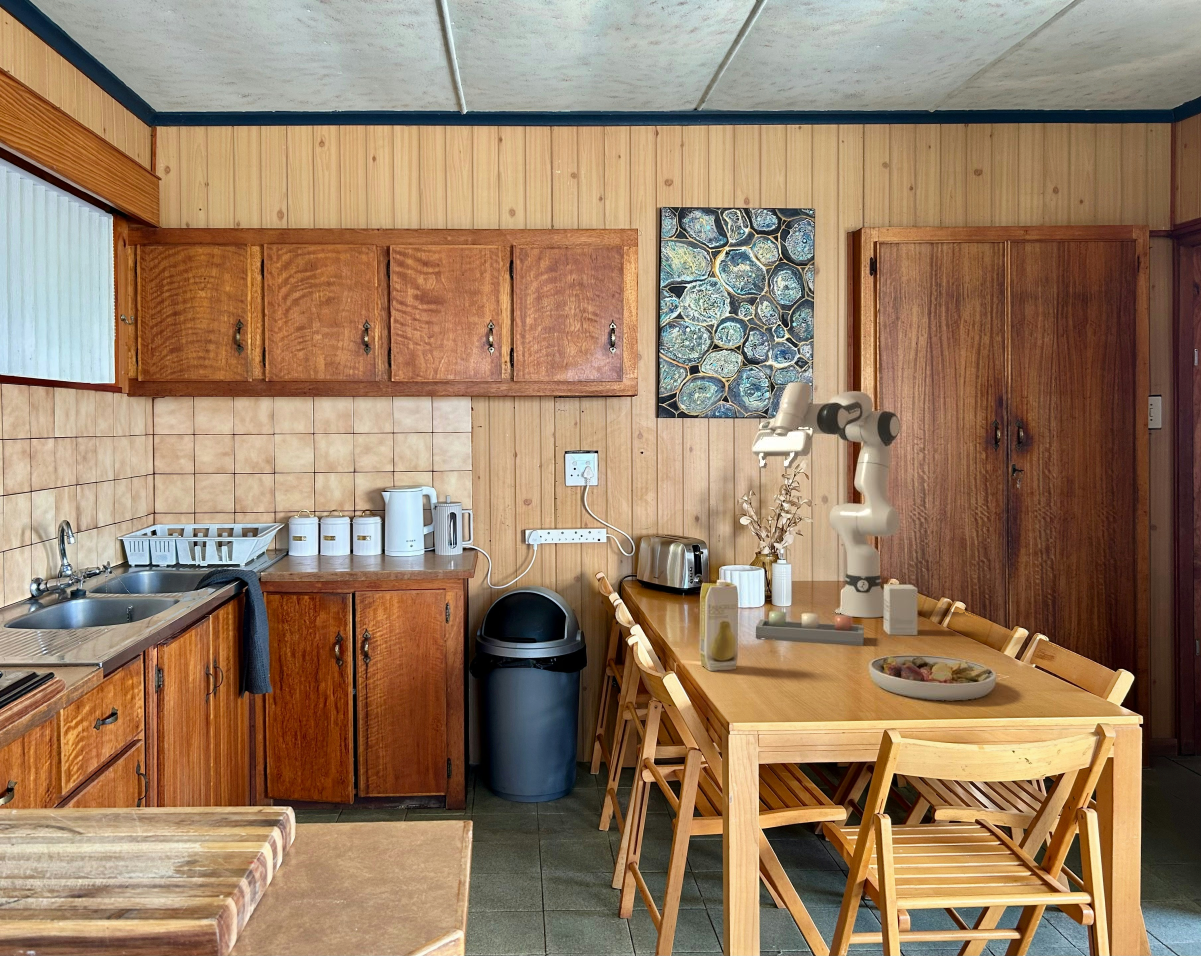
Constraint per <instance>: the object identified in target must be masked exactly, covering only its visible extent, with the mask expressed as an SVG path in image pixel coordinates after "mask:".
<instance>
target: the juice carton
mask: <svg viewBox="0 0 1201 956" xmlns="http://www.w3.org/2000/svg"><path fill="white" fill-rule="evenodd" d="M699 596H700V597H699V598H700V599H699V660H700V665H701V667H703V666H704V667H705V668H704V667H703V668H704V669H706V670H707V671H709V672H716V671H717V672H718V670H719V671H730V670H731V671H732V670H733V669H734V670H736V669H737V664H738V654H739V650H738V649H739V647H738V646H739V592H738V586H737V585H736V584H734V583H732V582H728V581H727V580H725V579H716V583H709V582H702V584H701V588H700V595H699Z"/></svg>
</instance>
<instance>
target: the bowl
mask: <svg viewBox="0 0 1201 956" xmlns="http://www.w3.org/2000/svg"><path fill="white" fill-rule="evenodd" d="M868 671H869V675H870V677H871V679H872V680H873V682H874V684H876V685H877V686H878V687H880V688H882V689H884V690H886V691H887V692H890V693H893V694H896V695H899V696H904V697H908V698H913V699H918V698H919V699H918V700H925V699H926V700H927V701H936V700H942V701H941V702H955V701H954V700H963V701H969V700H968V699H971V700H975V698H976V699H979V698H982V697H985V696H986V695H988V694H989V693H990V692H991V691H992V690H994V687H995V685H996V683H997V673H996V672H995V671H994V670H993V669H992V668H990V667H988V666H986V665H983V664H980V663H977V662H975V661H973V662H972V661H969V660H964V659H961V658H953V657H946V656H938V655H926V654H900V655H899V654H898V655H897V654H896V655H887V656H882V657H878V658H875V659H872V660H871V661H870V662H869V663H868ZM944 700H946V701H944Z"/></svg>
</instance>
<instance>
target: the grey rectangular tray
mask: <svg viewBox="0 0 1201 956" xmlns="http://www.w3.org/2000/svg"><path fill="white" fill-rule="evenodd" d="M756 638H765V639H764V640H767V639H775V640H774V641H782V640H783V641H782V642H784V641H785V642H798V643H813V644H815V643H816V644H827V645H828V644H830V645H843V646H844V645H846V646H862V647H863V646H864V642H865V641H864V640H865V625H860V624H852V630H851V631H838V630H835V623H824V622H819V628H818V629H805V628H802V621H796V620H795V621H793V620H792V621H790V620H786V626H785V627H773V626H769V619H763V618H762V619H759V621H758V623H757V624H756V626H755V639H756Z"/></svg>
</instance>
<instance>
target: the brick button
mask: <svg viewBox="0 0 1201 956" xmlns="http://www.w3.org/2000/svg"><path fill="white" fill-rule="evenodd" d="M834 624H835V630H838V631H851V630H852V625H853V616H849V615H844V614H836V615H834Z"/></svg>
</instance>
